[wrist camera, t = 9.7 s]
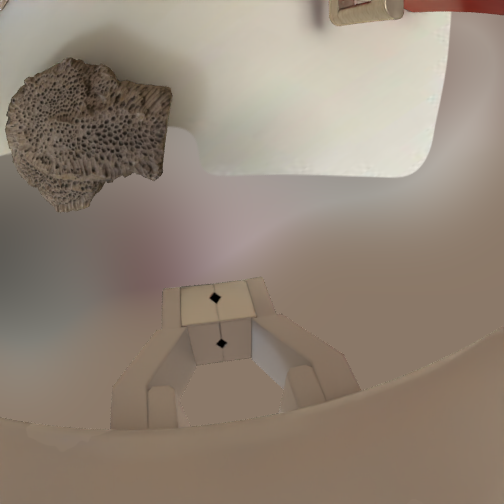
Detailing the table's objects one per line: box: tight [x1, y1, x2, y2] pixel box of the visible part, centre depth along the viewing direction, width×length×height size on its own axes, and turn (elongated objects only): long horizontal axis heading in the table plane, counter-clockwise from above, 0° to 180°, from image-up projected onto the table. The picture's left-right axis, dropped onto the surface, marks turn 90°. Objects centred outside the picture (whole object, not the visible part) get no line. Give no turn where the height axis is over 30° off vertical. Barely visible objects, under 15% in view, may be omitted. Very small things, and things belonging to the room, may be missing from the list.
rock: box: [5, 58, 173, 213], centre depth 21 cm, size 15×16×5 cm
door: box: [329, 0, 504, 26], centre depth 14 cm, size 6×14×16 cm, turn 90°
